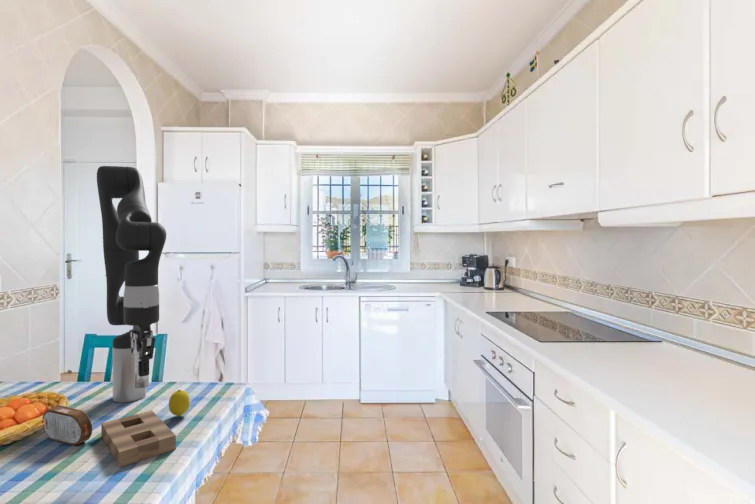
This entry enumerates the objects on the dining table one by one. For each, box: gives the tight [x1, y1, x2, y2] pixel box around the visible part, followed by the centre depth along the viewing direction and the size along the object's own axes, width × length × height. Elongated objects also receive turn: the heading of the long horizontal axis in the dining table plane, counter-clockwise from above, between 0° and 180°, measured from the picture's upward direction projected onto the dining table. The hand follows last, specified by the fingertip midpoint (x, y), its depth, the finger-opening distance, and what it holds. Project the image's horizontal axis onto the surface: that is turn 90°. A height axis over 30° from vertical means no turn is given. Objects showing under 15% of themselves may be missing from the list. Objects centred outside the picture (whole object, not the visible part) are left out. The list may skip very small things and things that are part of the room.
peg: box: [135, 347, 150, 388], centre depth 99 cm, size 3×3×10 cm
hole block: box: [100, 410, 177, 468], centre depth 103 cm, size 20×12×4 cm, turn 44°
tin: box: [42, 404, 93, 446], centre depth 104 cm, size 15×3×8 cm, turn 71°
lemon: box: [168, 389, 191, 418], centre depth 119 cm, size 6×6×8 cm
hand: (141, 373), depth 99 cm, fingers closed on peg, 3 cm apart
